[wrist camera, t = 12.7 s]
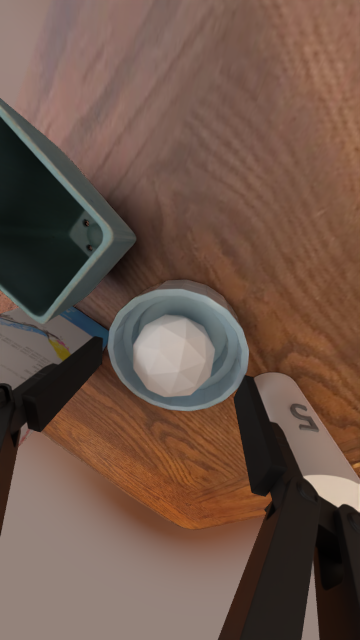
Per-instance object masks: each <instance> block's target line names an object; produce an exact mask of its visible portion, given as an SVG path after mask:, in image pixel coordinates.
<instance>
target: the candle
mask: <svg viewBox="0 0 360 640" xmlns="http://www.w3.org/2000/svg"><path fill="white" fill-rule="evenodd" d="M254 380H255V383H256V385H257V388H258V391H259V393H260V396H261V399H262V401H263V404H264V407H265V409H266V412H267V414H268V417H269V420H270V421H271V422H275V423H278V425H279V426H280V427H281V429H282V430H283V431H284V434H285V436H286V438H287V441H288V443H289V445H290V449H291V450H292V452H293V455H294V457H295V459H296V462H297V464H298V466H299V469H300V471H301V473H302V475H303V477H304V478H305V479H306V480H307V481H309V482H310V483H311V485H312V486H313V487H314V488H315V490H316V491H317V493H318V495H319V496H321V497H322V498H324V499H325V500H327V501H329V502H330V503H332V504H333V505H335V506H337V507H339V506H341V505H342V504H348V505H350V506H352V507H353V508H355V509H356V510H357V511H358V512H360V479H359V477H358V476H357V474H356V473H355V471H354V470H353V468H352V467H351V465H350V464H349V462H348V461H347V459H346V458H345V456H344V455H343V453H342V452H341V450H340V449H339V447H338V446H337V444H336V443H335V441H334V440H333V438H332V437H331V435H330V434H329V432H328V431H327V429H326V428H325V426H324V425H323V423H322V422H321V420H320V419H319V417H318V416H317V414H316V413H315V411H314V410H313V408H312V407H311V405H310V404H309V402H308V401H307V399H306V398H305V396H304V394H303V393H302V391H301V390H300V388H299V387H298V385H297V384H296V382H295V381H294V380H293V379H292V378H291V377H289V376H287V375H285V374H282V373H277V372H269V373H264V374H261V375H258V376H256V377H255V378H254Z"/></svg>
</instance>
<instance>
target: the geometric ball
mask: <svg viewBox="0 0 360 640" xmlns="http://www.w3.org/2000/svg"><path fill="white" fill-rule="evenodd" d="M214 353H215V348H214V346H213V344H212V342H211V340H210V338H209V336H208V334H207V332H206V330H205V328H204V326H202V325H200V324H198V323H196V322H194V321H192V320H190V319H188V318H187V317H185V316H183V315H166V314H165V315H164V316H162V317H160V318H158V319H156V320H154V321H152V322H150V323H148V324H146V325H145V326H144V327H143V329H142V331H141V333H140V334H139V336H138V338H137V339H136V341H135V343H134V344H133V369H134V370H135V372H136V373H137V375H138V376H139V378H140V379H141V381H142V382H143V384H144V385H145V387H146V388H147V389H148V390H150V391H152V392H154V393H157V394H159V395H161V396H163V397H173V396H188V395H191V394H192V393H193V392H195V391H196V390H197V389H198V388H199V387H200V386H201V385H202V384H203V383H204V382H205V381H206V380H207V379H208V378H209V377H210V376H211V370H212V364H213V359H214Z"/></svg>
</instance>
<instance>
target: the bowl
mask: <svg viewBox="0 0 360 640" xmlns="http://www.w3.org/2000/svg"><path fill="white" fill-rule="evenodd" d="M165 314H166V315H183V316H185V317H187V318H188V319H190V320H192V321H194V322H196V323H198V324H200V325H202V326H204V328H205V330H206V332H207V334H208V336H209V338H210V340H211V342H212V344H213V346H214V348H215V353H214V359H213V364H212V370H211V376H210V377H209V378H208V379H207V380H206V381H205V382H204V383H203V384H202V385H201V386H200V387H199V388H198V389H197V390H196V391H195V392H193V393H192V394H191V395H188V396H173V397H163V396H161V395H159V394H157V393H154V392H152V391H150V390H148V389H147V388H146V387H145V385H144V384H143V382H142V381H141V379H140V378H139V376H138V375H137V373H136V372H135V370H134V369H133V344H134V343H135V341H136V339H137V338H138V336H139V334H140V333H141V331H142V329H143V327H144V326H145V325H146V324H148V323H150V322H152V321H154V320H156V319H158V318H160V317H162V316H164V315H165ZM108 352H109V356H110V360H111V364H112V367H113V369H114V370H115V372H116V374H117V375H118V377H119V379H120V380H121V381H122V383H123V384H124V385H126V386H127V387H128V388H129V389H130V390H131V391H132V392H133V393H134V394H135V395H137V396H138V397H140V398H142V399H143V400H145V401H147V402H149V403H150V404H153V405H156V406H159V407H162V408H166V409H169V410H179V411H193V410H199V409H205V408H209V407H211V406H213V405H215V404H217V403H219V402H222V401H224V400H225V399H226V398H227V397H229V396H230V395H231V394H232V393H233V392H234V391H235V390H236V389H237V388H238V387H239V385H240V383H241V381H242V379H243V377H244V375H245V374H246V372H247V368H248V357H249V348H248V345H247V342H246V338H245V335H244V331H243V329H242V327H241V324H240V322H239V320H238V318H237V315H236V313H235V311H234V310H233V308H232V307H231V306H230V304H229V303H228V302H227V300H226V299H225V298H224V297H223V296H222V295H221V294H219V293H218V292H216V291H215V290H213V289H212V288H210V287H209V286H207V285H204V284H201V283H197V282H194V281H190V280H168V281H164V282H162V283H159V284H157V285H154V286H152V287H150V288H148V289H146V290H145V291H144V292H142V293H141V294H139V295H138V296H136V297H135V298H133V299H132V300H131V301H130V302H129V303H128V304H127V305H125V306H124V307H123V308H122V309H121V310H120V311H119V312H118V313H117V315H116V317H115V319H114V321H113V323H112V325H111V327H110V330H109V338H108Z"/></svg>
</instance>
